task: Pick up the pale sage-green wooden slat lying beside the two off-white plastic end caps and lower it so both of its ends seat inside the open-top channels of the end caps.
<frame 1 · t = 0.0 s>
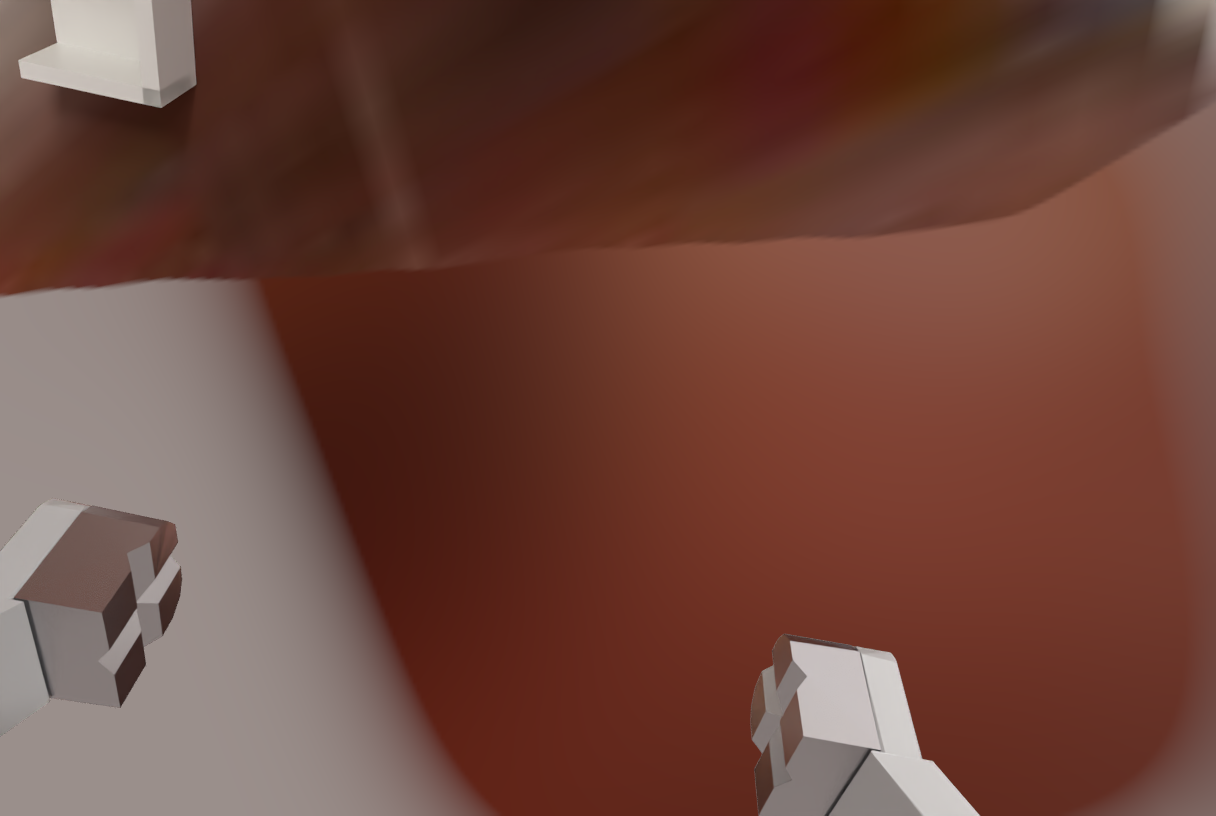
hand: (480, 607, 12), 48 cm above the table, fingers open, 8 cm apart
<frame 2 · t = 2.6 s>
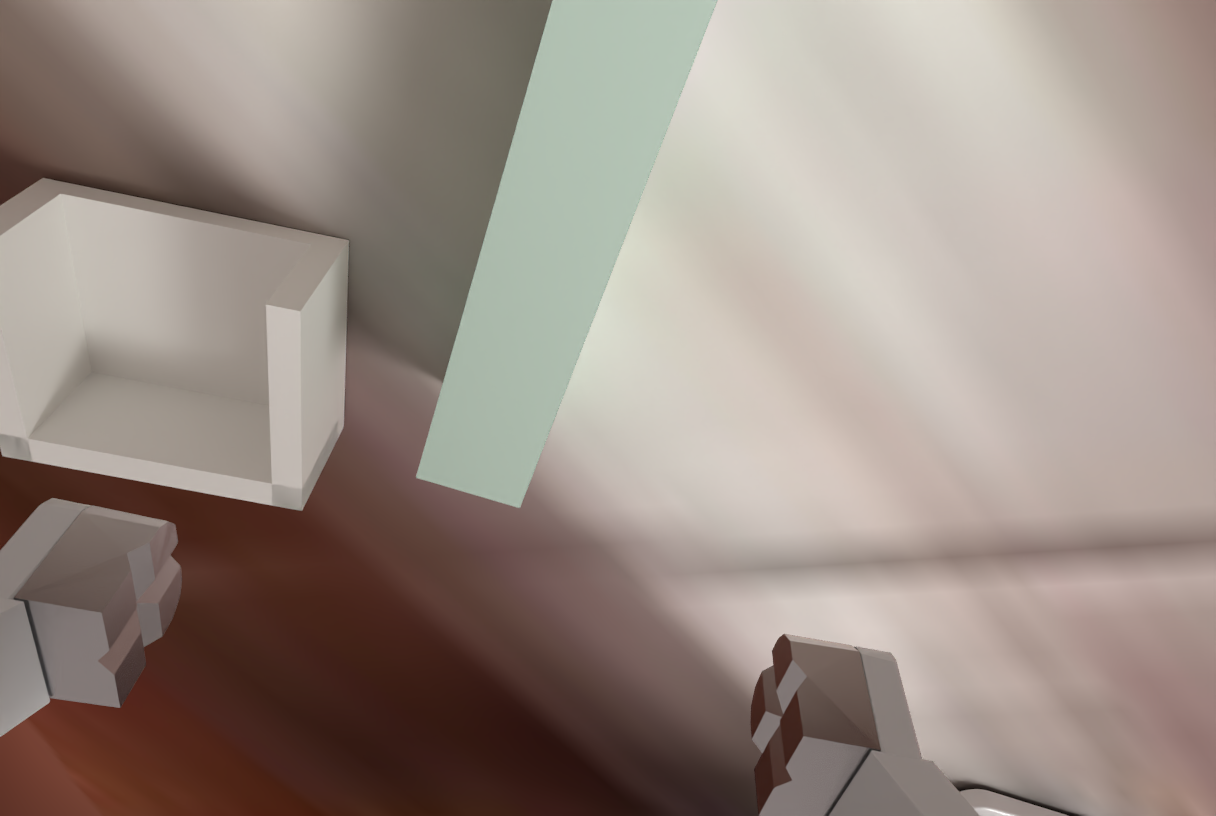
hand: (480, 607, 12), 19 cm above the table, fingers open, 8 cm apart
endcap a: (205, 312, 32), on the table
slat: (581, 136, 28), on the table
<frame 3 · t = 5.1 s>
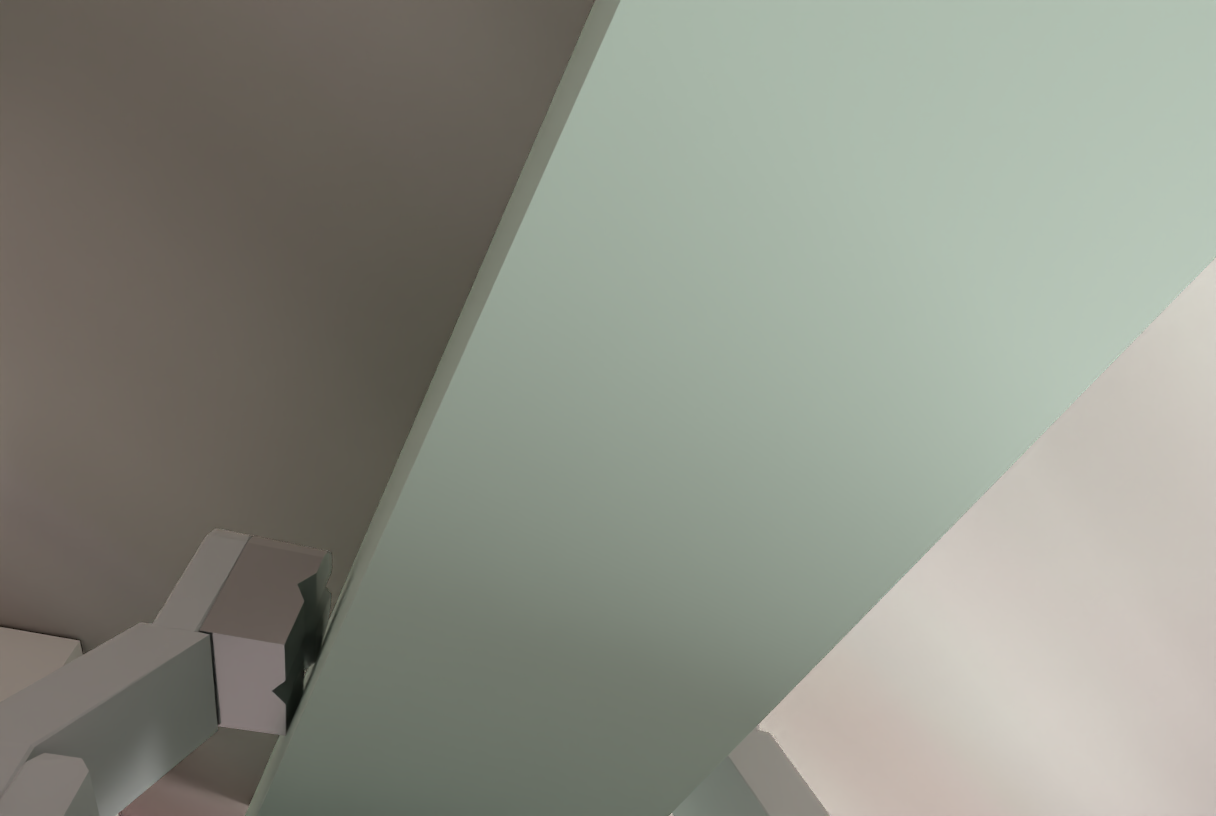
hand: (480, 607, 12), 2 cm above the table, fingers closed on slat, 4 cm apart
slat: (503, 507, 14), on the table, touching gripper
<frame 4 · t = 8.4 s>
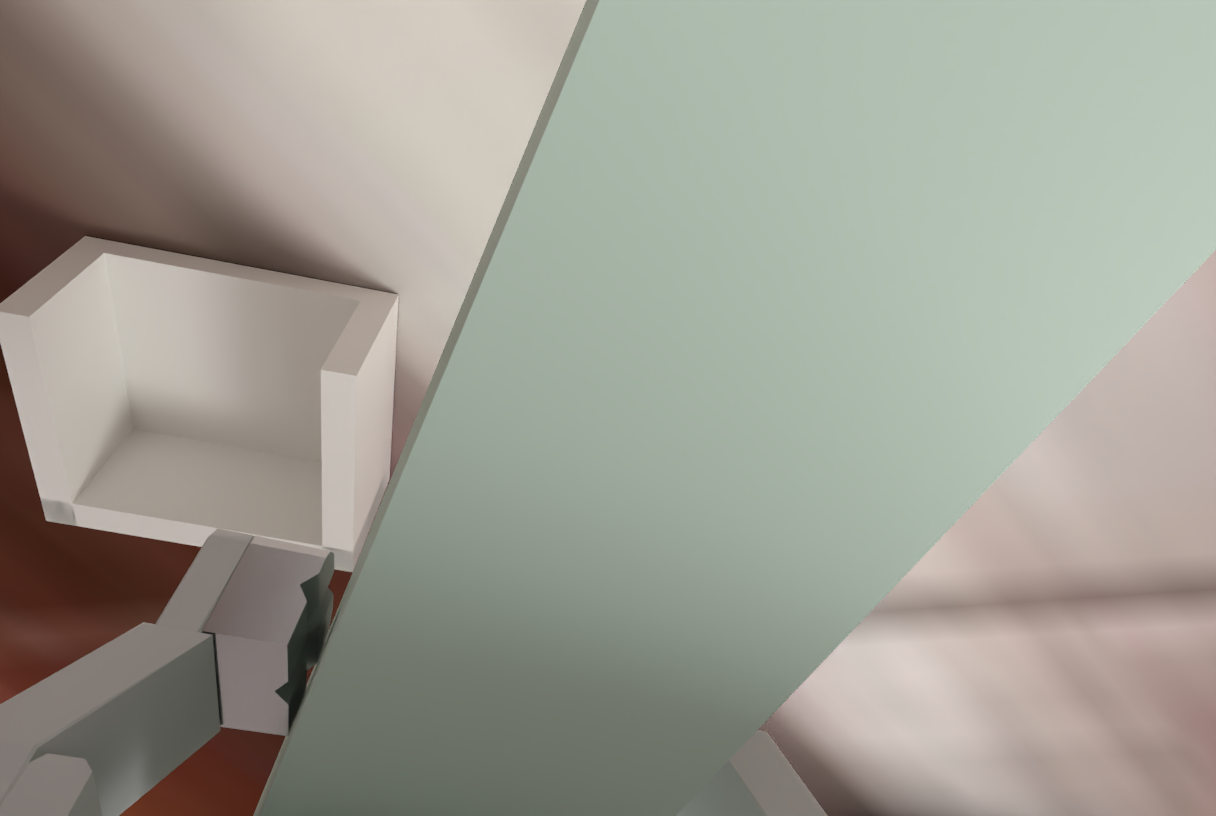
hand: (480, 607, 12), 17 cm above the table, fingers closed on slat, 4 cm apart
endcap a: (250, 367, 31), on the table
slat: (504, 510, 14), point 15 cm above the table, touching gripper
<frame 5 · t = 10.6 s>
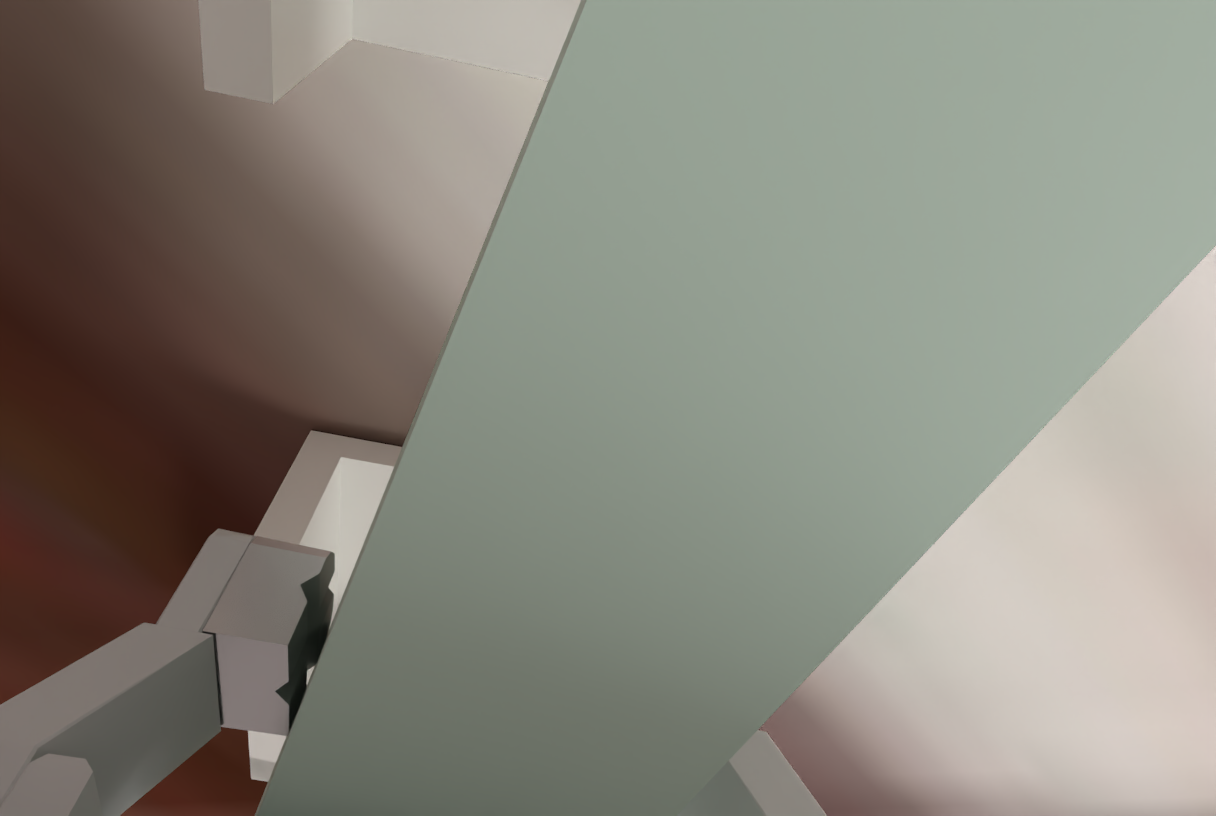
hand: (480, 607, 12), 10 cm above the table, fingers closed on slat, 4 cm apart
endcap a: (487, 573, 25), on the table
slat: (503, 511, 14), point 8 cm above the table, touching gripper
when the fingers open (4 cm above the table, at t = 12.2 s): slat stays where it is, resting on endcap a, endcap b.
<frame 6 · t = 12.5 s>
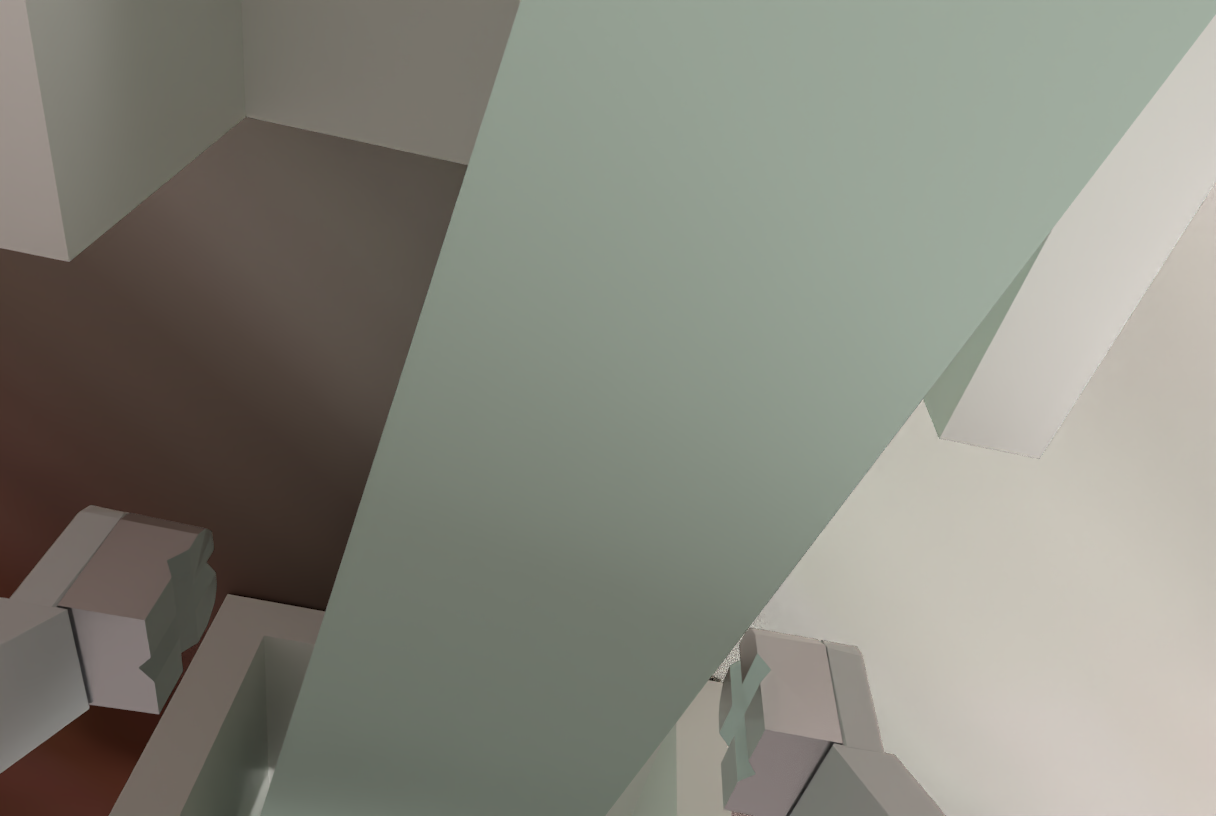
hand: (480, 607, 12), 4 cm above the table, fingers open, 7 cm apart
endcap a: (459, 752, 20), on the table
slat: (514, 466, 14), point 1 cm above the table, touching endcap a, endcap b
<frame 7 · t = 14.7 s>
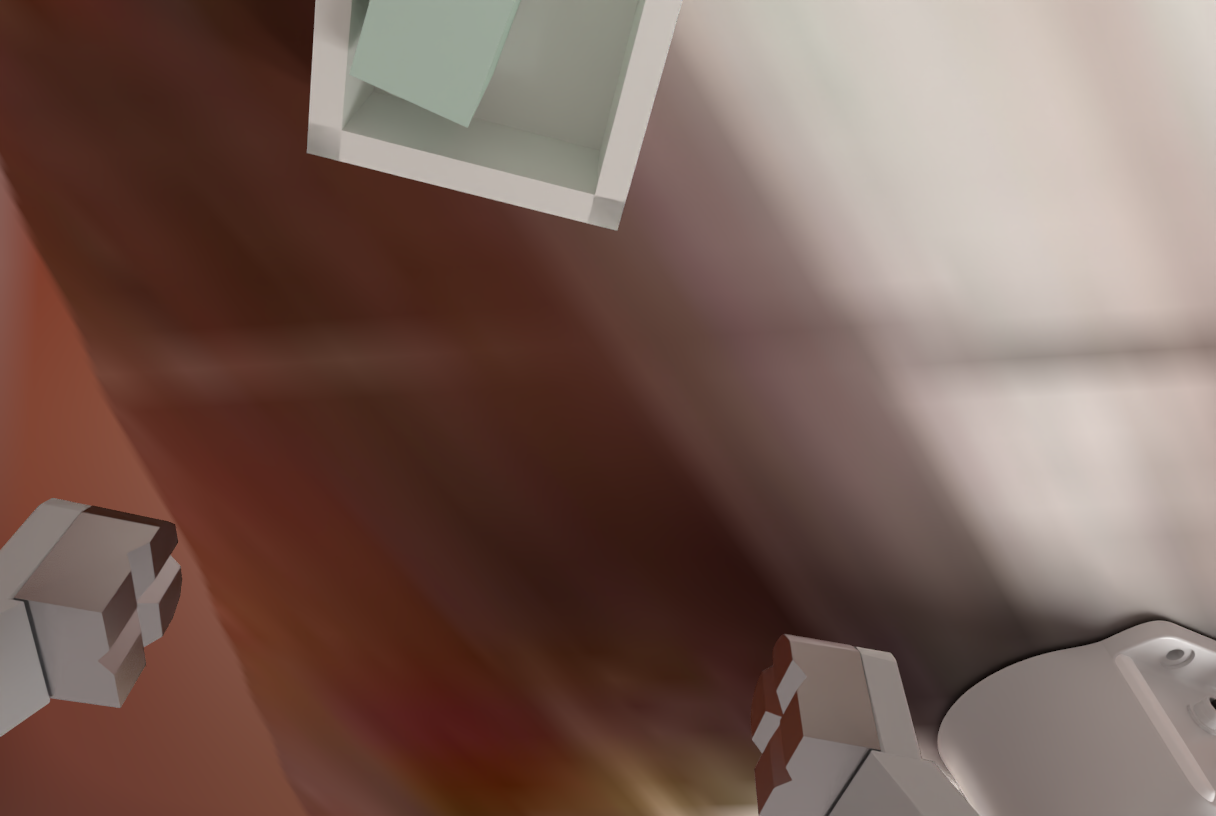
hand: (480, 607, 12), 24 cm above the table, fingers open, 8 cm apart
endcap a: (506, 27, 30), on the table
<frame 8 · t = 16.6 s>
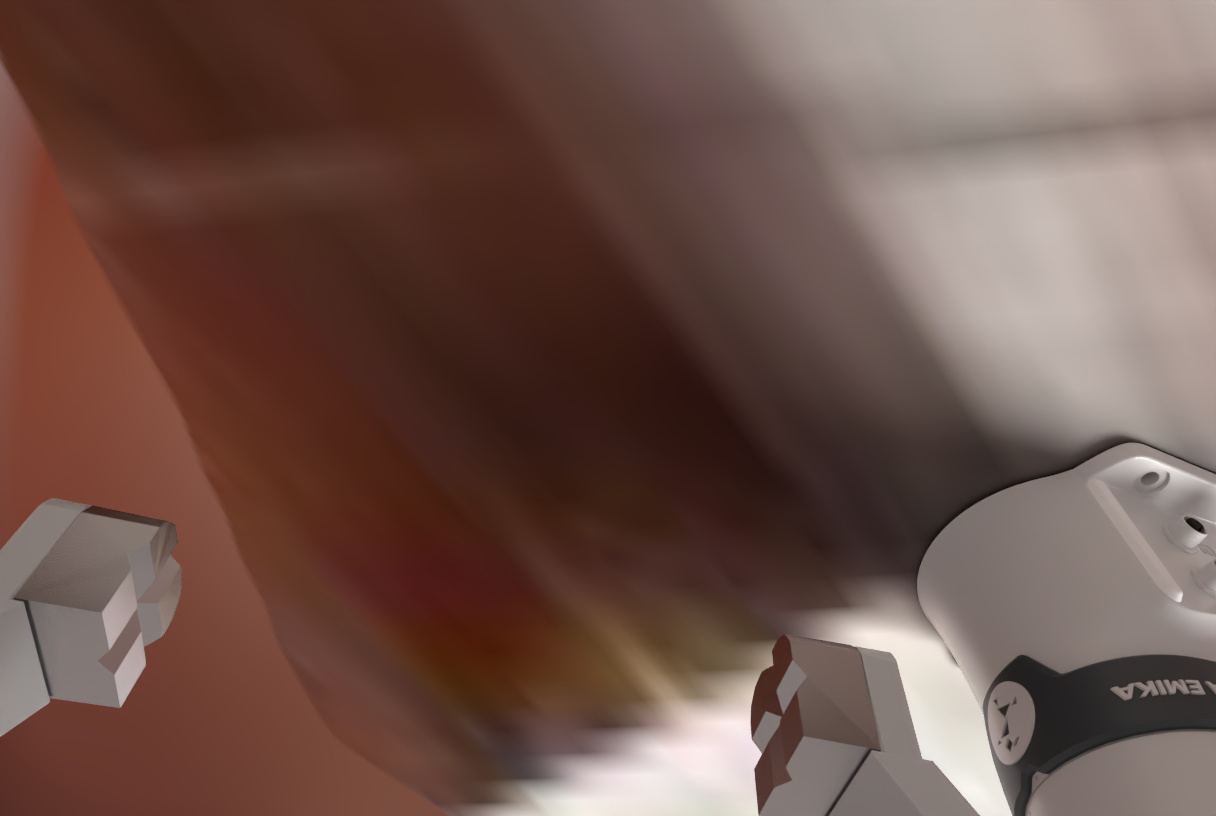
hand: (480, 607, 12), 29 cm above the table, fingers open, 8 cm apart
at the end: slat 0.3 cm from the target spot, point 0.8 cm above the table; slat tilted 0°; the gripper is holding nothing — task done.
